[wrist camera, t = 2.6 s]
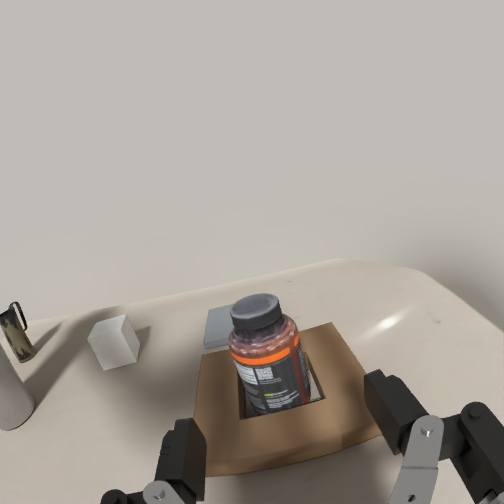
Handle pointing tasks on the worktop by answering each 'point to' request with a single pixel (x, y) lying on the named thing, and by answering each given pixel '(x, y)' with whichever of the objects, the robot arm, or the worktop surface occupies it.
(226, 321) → the slate pad
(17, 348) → the mug
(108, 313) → the worktop surface
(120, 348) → the white cube
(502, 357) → the worktop surface
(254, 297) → the supplement bottle
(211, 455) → the socket block
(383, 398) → the robot arm
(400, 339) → the worktop surface
